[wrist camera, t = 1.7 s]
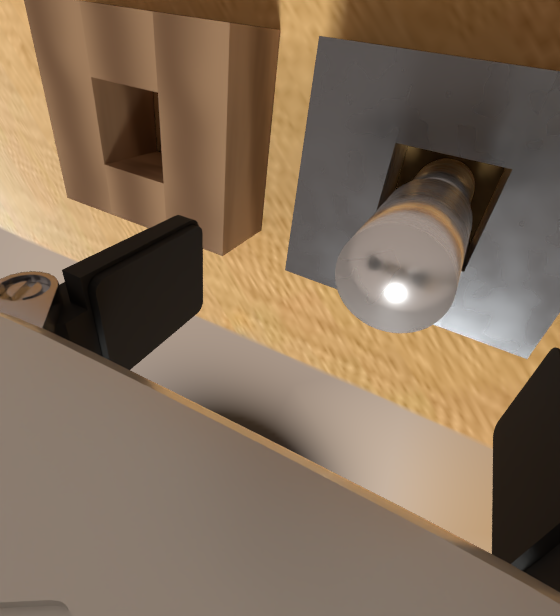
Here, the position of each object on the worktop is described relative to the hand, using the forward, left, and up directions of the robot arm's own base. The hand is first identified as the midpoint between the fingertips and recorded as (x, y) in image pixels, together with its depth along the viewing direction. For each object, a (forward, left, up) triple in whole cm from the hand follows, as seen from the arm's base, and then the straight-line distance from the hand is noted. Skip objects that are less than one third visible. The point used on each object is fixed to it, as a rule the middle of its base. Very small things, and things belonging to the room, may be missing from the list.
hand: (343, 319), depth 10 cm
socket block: (-1, 0, -15) cm, 15 cm away
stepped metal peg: (-1, 0, -15) cm, 15 cm away
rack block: (+14, -11, -15) cm, 23 cm away
